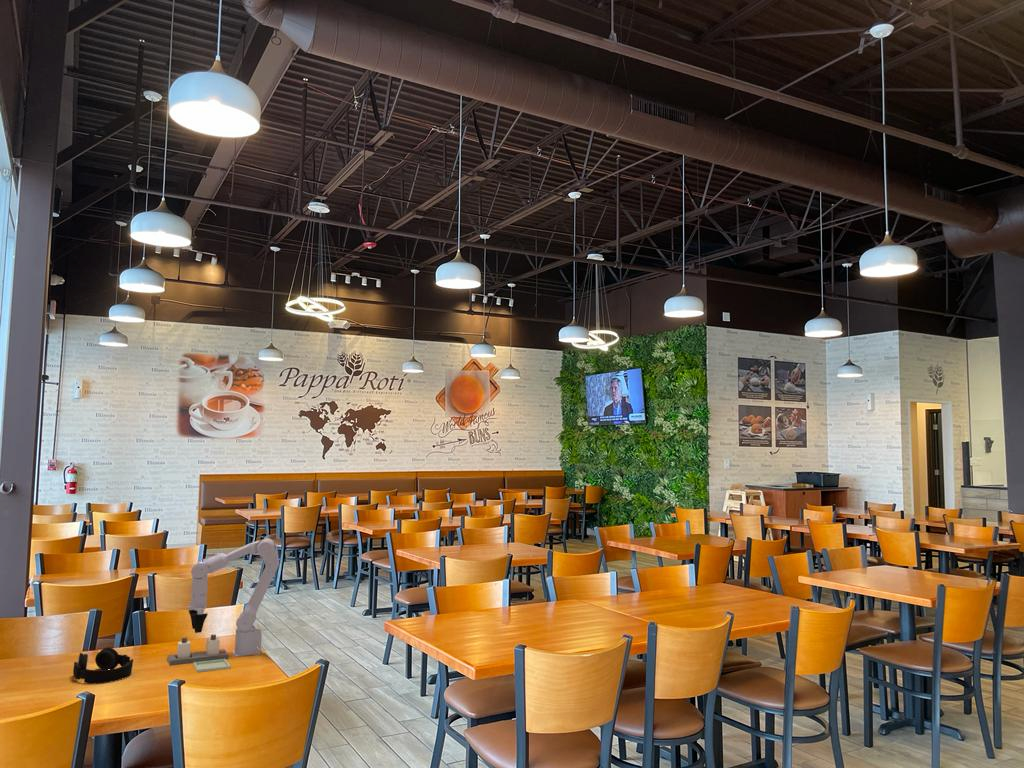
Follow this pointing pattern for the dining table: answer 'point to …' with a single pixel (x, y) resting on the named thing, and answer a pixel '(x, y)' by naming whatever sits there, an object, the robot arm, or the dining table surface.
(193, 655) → the power strip
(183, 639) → the plug
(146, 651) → the dining table surface
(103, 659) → the headphones
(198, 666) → the tray
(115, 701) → the dining table surface
